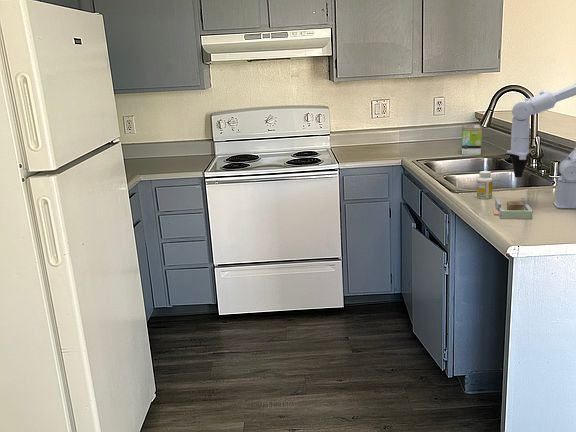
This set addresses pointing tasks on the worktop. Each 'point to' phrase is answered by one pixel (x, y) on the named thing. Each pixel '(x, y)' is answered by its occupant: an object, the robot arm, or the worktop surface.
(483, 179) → the supplement bottle
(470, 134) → the tea box
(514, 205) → the walnut block
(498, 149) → the worktop surface
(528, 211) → the channel
